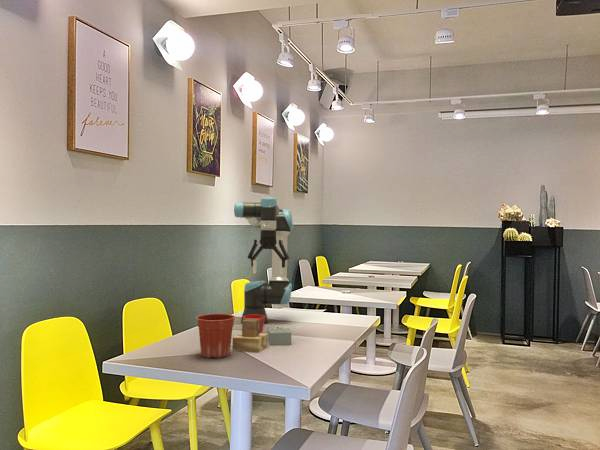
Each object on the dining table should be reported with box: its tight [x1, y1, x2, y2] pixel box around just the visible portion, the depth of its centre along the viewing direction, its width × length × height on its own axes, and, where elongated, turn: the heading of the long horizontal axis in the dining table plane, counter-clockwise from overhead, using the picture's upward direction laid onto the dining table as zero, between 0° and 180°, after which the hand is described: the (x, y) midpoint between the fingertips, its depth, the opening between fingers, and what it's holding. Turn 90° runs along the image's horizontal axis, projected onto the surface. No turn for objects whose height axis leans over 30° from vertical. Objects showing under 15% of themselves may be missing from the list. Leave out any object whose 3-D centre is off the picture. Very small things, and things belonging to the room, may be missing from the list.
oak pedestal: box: [232, 332, 268, 353], centre depth 225 cm, size 12×12×6 cm
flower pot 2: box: [243, 314, 265, 333], centre depth 252 cm, size 11×11×10 cm
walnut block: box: [241, 318, 259, 337], centre depth 225 cm, size 6×6×7 cm
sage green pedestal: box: [267, 327, 292, 347], centre depth 236 cm, size 10×10×6 cm
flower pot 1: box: [195, 313, 236, 359], centre depth 214 cm, size 16×16×16 cm
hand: (268, 274), depth 241 cm, fingers open, 13 cm apart
